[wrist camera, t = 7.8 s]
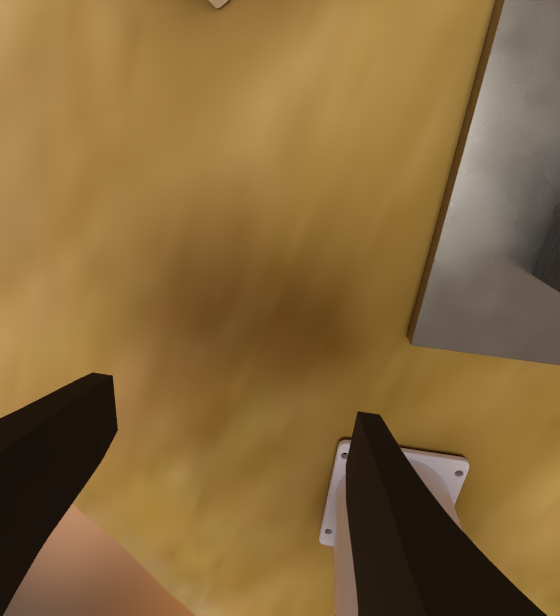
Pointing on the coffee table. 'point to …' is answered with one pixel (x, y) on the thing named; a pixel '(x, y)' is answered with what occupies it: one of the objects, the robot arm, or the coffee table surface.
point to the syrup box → (217, 3)
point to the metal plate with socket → (502, 202)
